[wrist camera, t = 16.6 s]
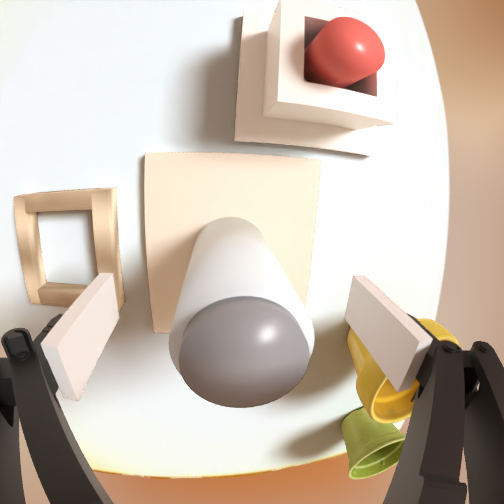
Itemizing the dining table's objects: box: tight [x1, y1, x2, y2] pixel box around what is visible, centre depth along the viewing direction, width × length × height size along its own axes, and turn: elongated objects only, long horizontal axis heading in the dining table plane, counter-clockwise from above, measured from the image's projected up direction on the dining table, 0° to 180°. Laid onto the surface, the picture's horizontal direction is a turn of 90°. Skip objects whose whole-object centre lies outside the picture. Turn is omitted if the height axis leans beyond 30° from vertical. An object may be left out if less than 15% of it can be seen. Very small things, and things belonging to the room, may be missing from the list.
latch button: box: [304, 17, 385, 89], centre depth 14 cm, size 4×4×5 cm
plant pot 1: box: [347, 318, 460, 424], centre depth 24 cm, size 10×10×10 cm
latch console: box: [234, 0, 396, 156], centre depth 17 cm, size 12×12×7 cm
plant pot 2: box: [341, 407, 406, 479], centre depth 30 cm, size 9×9×9 cm
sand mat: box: [144, 152, 321, 333], centre depth 24 cm, size 16×14×1 cm
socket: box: [14, 188, 125, 311], centre depth 21 cm, size 10×10×2 cm
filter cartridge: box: [169, 217, 315, 408], centre depth 17 cm, size 6×6×14 cm
